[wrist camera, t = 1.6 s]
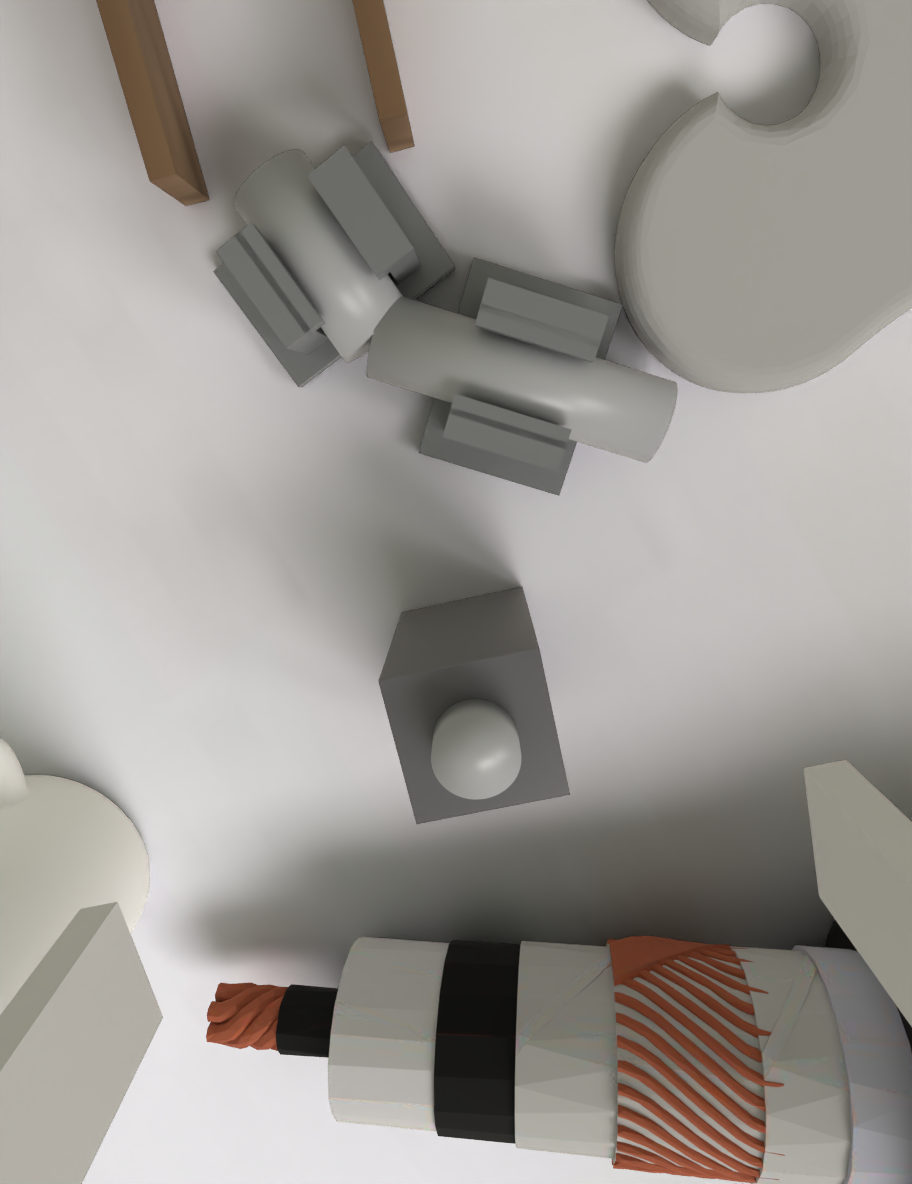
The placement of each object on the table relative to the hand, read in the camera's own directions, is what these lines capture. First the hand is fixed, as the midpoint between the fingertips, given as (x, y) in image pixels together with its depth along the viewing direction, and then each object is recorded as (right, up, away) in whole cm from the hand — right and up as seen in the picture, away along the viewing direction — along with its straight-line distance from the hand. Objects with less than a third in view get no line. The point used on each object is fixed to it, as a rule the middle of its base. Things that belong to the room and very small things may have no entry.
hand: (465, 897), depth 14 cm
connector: (0, +3, +14) cm, 14 cm away
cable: (+8, -10, +17) cm, 21 cm away
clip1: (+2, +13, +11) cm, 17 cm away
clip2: (-4, +16, +11) cm, 20 cm away
